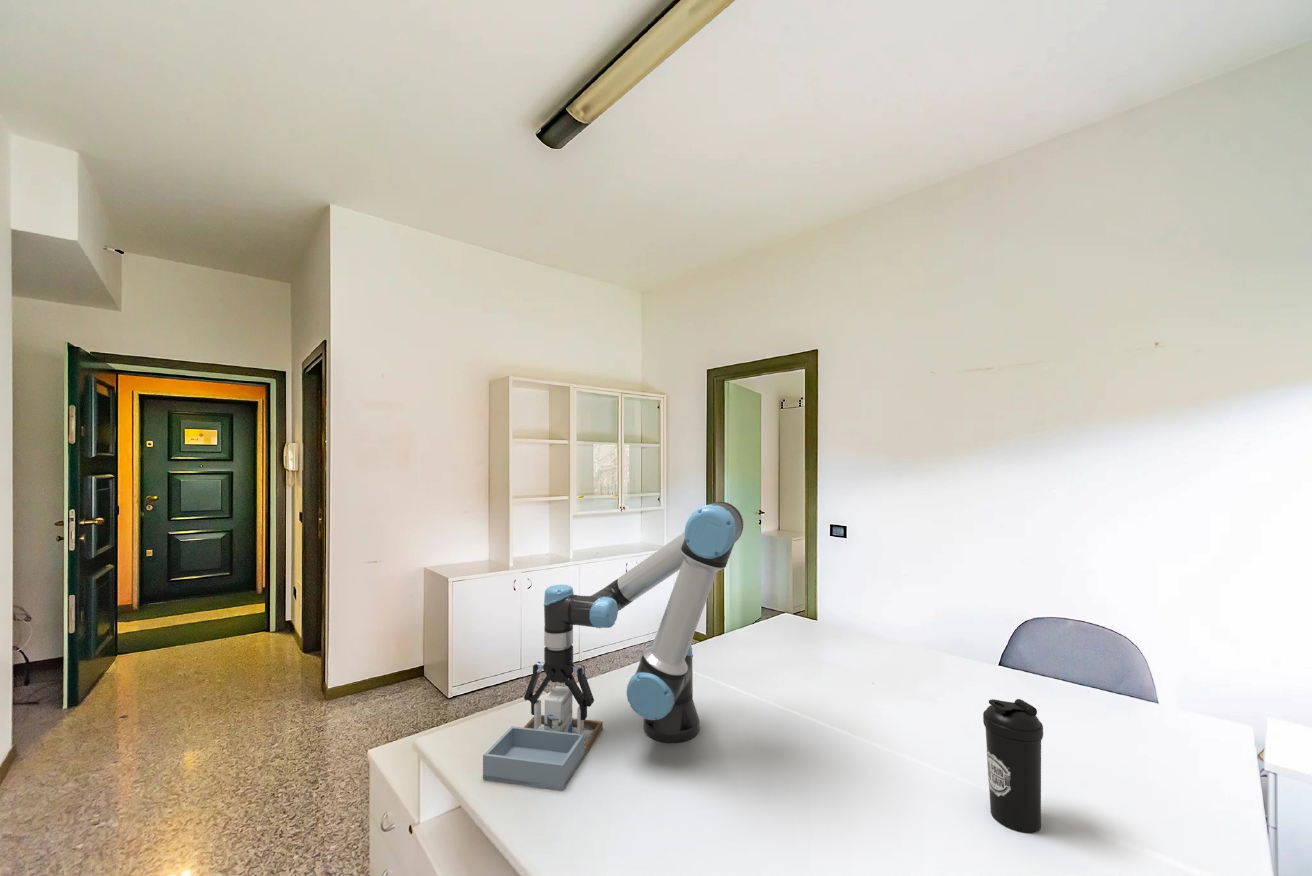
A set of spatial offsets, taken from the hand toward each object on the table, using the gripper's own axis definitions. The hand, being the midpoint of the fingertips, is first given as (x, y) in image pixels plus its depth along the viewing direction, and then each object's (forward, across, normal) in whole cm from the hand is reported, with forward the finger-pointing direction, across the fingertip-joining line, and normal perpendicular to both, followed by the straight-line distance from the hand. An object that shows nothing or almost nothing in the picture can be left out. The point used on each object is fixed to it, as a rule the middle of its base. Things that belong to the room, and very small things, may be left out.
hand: (558, 729), depth 142 cm
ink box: (+2, 0, 0) cm, 2 cm away
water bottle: (+2, -103, +10) cm, 104 cm away
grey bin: (+2, 0, +14) cm, 14 cm away
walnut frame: (+2, 0, 0) cm, 2 cm away
